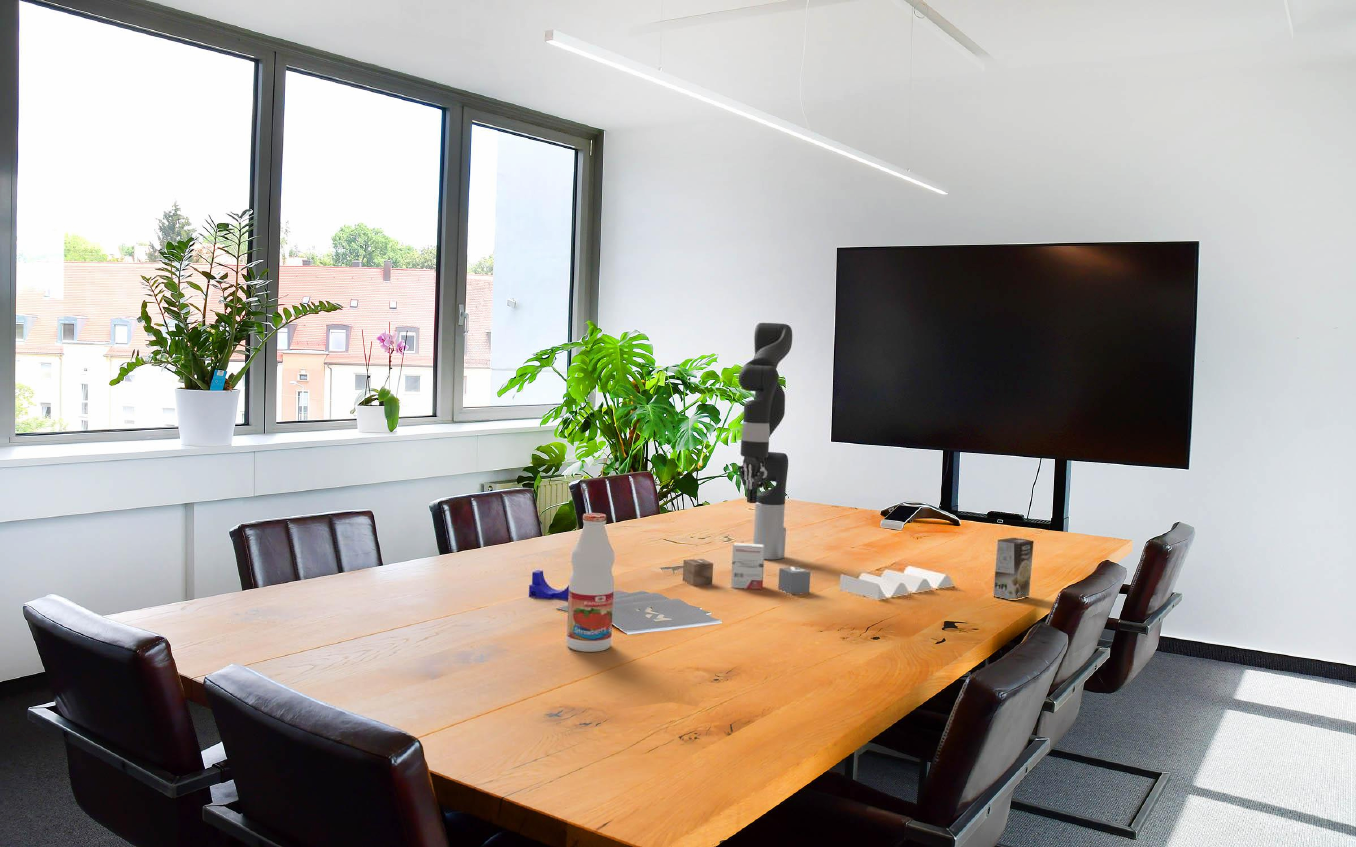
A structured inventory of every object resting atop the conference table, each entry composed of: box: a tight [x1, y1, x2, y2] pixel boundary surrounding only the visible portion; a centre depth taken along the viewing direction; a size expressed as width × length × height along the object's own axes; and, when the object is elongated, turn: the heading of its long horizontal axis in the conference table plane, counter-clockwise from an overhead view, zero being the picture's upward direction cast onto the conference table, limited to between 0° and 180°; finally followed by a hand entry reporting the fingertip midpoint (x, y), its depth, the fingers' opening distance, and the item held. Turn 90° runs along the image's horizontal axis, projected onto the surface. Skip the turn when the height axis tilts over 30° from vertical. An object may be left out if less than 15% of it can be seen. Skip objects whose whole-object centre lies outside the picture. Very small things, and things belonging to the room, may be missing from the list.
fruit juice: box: [566, 512, 615, 653], centre depth 207 cm, size 9×9×28 cm
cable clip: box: [528, 569, 569, 601], centre depth 247 cm, size 12×4×6 cm, turn 72°
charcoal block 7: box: [777, 566, 811, 595], centre depth 267 cm, size 6×6×6 cm
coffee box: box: [992, 537, 1035, 599], centre depth 273 cm, size 9×6×16 cm
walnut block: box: [682, 558, 714, 587], centre depth 271 cm, size 6×6×6 cm
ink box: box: [730, 542, 765, 591], centre depth 269 cm, size 9×5×12 cm, turn 84°
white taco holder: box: [839, 565, 955, 599], centre depth 278 cm, size 13×35×5 cm, turn 130°
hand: (751, 502), depth 268 cm, fingers closed
